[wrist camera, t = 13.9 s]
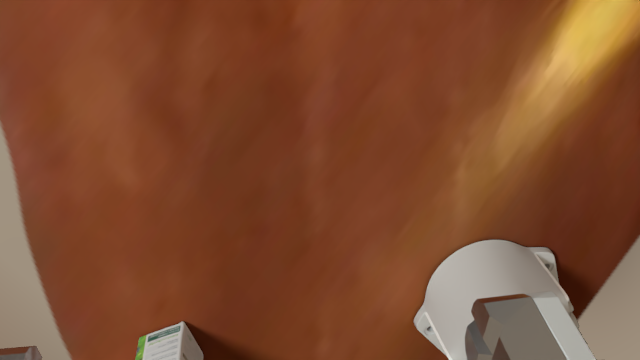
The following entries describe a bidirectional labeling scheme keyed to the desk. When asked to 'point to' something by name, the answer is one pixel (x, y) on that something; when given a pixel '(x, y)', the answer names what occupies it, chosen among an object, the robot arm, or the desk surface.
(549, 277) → the robot arm
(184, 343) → the syrup box
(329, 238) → the desk surface
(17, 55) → the desk surface
